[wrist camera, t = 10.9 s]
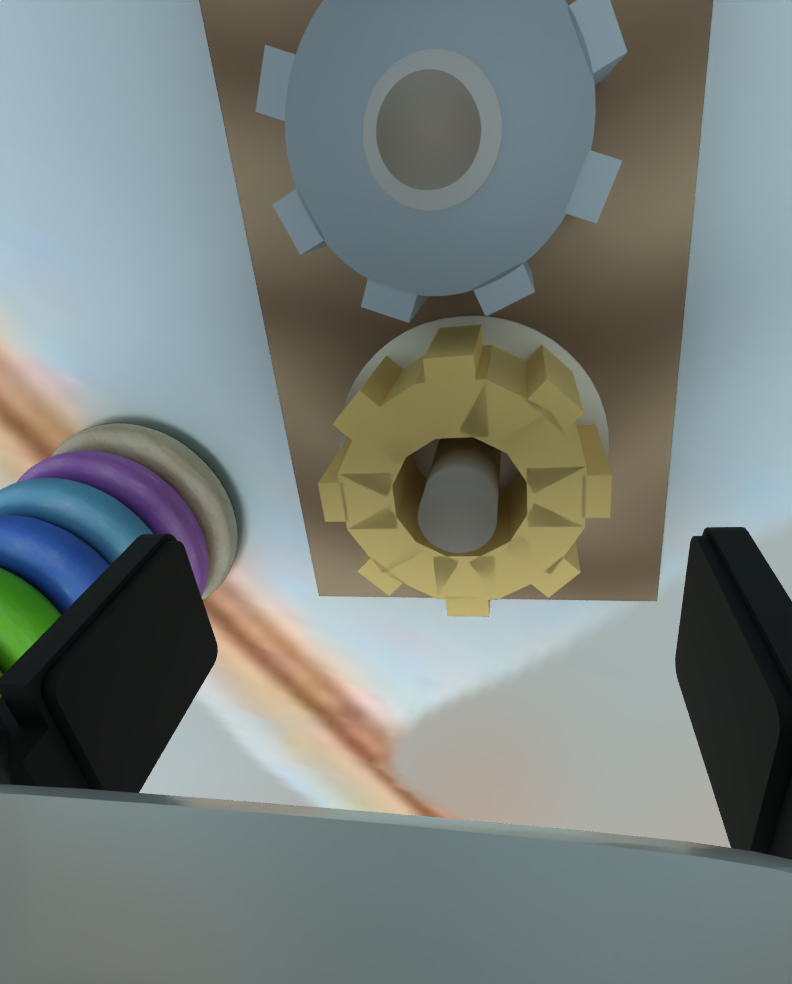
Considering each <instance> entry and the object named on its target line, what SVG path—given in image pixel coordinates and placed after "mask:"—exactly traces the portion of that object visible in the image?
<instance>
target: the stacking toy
mask: <svg viewBox="0 0 792 984" xmlns="http://www.w3.org/2000/svg"><path fill="white" fill-rule="evenodd" d="M142 534H171V535H173V536H174V537H175V538H176V540H177V541H180V542H182V543H183V545H184V547H185V549H186V552H187V555H188V558H189V561H190V564H191V567H192V570H193V573H194V576H195V579H196V582H197V585H198V588H199V591H200V594H201V597H202V600H203V599H205V598H206V597H208V596H209V595H210V594H212V593H213V592H214V591H215V590H216V589H217V588H218V587H219V586H220V585H221V583H222V582H223V581H224V579H225V578H226V576H227V575H228V573H229V571H230V569H231V567H232V564H233V561H234V558H235V554H236V549H237V525H236V519H235V515H234V511H233V507H232V504H231V502H230V499H229V497H228V495H227V493H226V491H225V489H224V488H223V486H222V484H221V483H220V481H219V480H218V478H217V477H216V475H215V474H214V473H213V471H212V470H211V469H210V468H209V467H208V466H207V465H206V463H205V462H204V461H203V460H202V459H201V458H200V457H198V456H197V455H196V454H195V453H194V452H193V451H191V450H190V449H189V448H188V447H186V446H185V445H184V444H182V443H181V442H179V441H177V440H176V439H174V438H172V437H170V436H168V435H166V434H164V433H162V432H159V431H157V430H154V429H151V428H147V427H143V426H139V425H133V424H125V423H113V424H104V425H98V426H94V427H91V428H88V429H85V430H83V431H80V432H78V433H76V434H74V435H72V436H71V437H70V438H68V439H67V440H66V441H64V442H63V443H62V444H61V445H60V446H59V447H58V448H57V449H56V450H55V451H54V453H53V454H52V455H51V457H49V458H47V459H45V460H43V461H41V462H39V463H38V464H36V465H34V466H33V467H31V468H30V469H29V470H28V471H27V472H26V473H24V474H23V475H22V476H21V477H20V479H19V480H18V481H17V483H14V484H12V485H10V486H7V487H5V488H3V489H1V490H0V677H1V676H2V675H3V674H4V673H5V672H6V671H7V670H8V669H9V668H10V667H11V666H12V665H13V664H14V663H15V662H16V661H17V660H18V659H19V658H20V657H21V656H22V655H23V654H24V653H25V652H26V651H27V650H28V649H29V648H30V647H31V646H32V645H33V644H34V643H35V642H36V641H37V640H38V639H39V637H40V636H41V635H42V634H43V633H44V632H45V631H46V630H47V629H48V628H49V627H50V626H51V625H52V624H53V623H54V622H55V621H56V620H57V619H58V618H59V617H60V616H61V615H62V614H63V613H64V612H65V611H66V610H67V609H68V608H69V607H70V606H71V605H72V604H73V603H74V602H75V601H76V600H77V599H78V598H79V597H80V596H81V595H82V593H83V592H84V591H85V590H86V589H87V588H88V587H89V586H90V585H91V584H92V583H93V582H94V581H95V580H96V579H97V578H98V577H99V576H100V575H101V574H102V573H103V572H104V571H105V570H106V569H107V568H108V567H109V566H110V565H111V564H112V563H113V562H114V561H115V560H116V559H117V558H118V557H119V556H120V555H121V554H122V553H123V552H124V551H125V549H126V548H127V547H128V546H129V545H130V544H131V543H132V542H133V541H134V540H135V539H136V538H137V537H139V536H140V535H142ZM0 697H1V694H0Z"/></svg>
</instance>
